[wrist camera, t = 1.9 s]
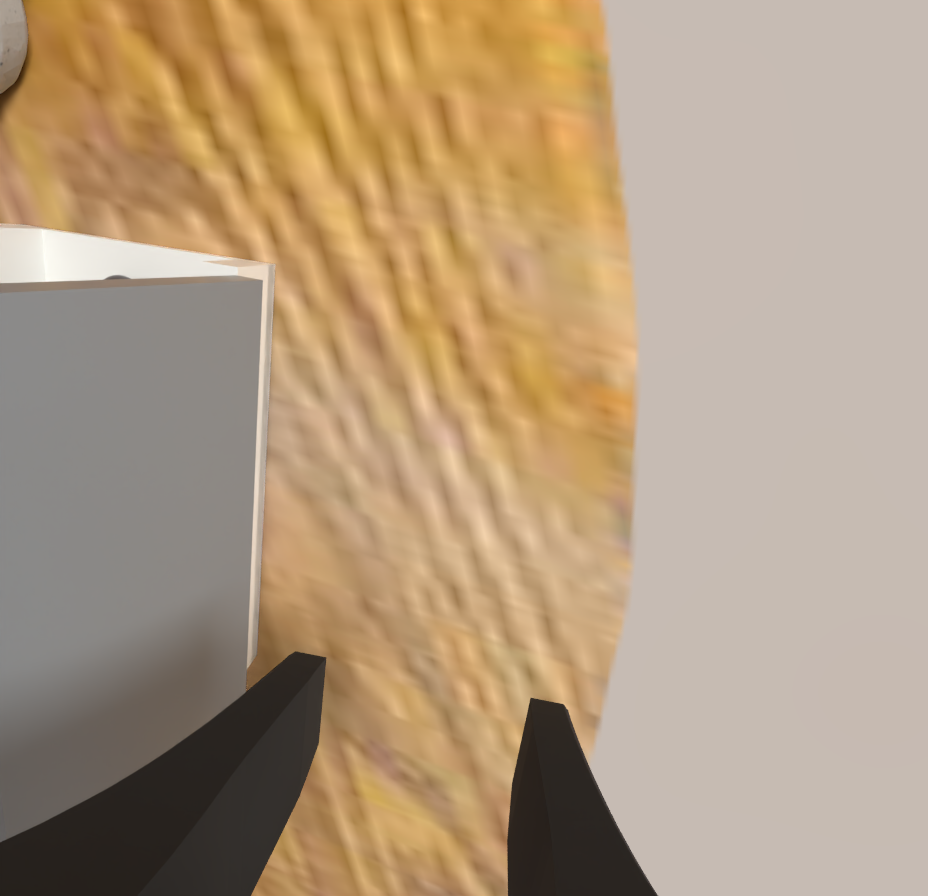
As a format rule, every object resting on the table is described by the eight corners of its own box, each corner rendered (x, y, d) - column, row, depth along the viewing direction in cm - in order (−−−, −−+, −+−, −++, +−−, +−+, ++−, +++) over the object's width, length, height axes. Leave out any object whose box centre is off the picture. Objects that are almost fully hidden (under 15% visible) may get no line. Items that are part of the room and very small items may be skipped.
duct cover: (223, 698, 21) (245, 705, 21) (-11, 934, 14) (19, 948, 13) (235, 275, 17) (262, 280, 16) (-99, 287, 9) (-57, 295, 9)
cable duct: (257, 654, 24) (225, 700, 21) (52, 614, 24) (-1, 654, 22) (275, 264, 19) (238, 267, 17) (23, 224, 20) (-48, 221, 17)
